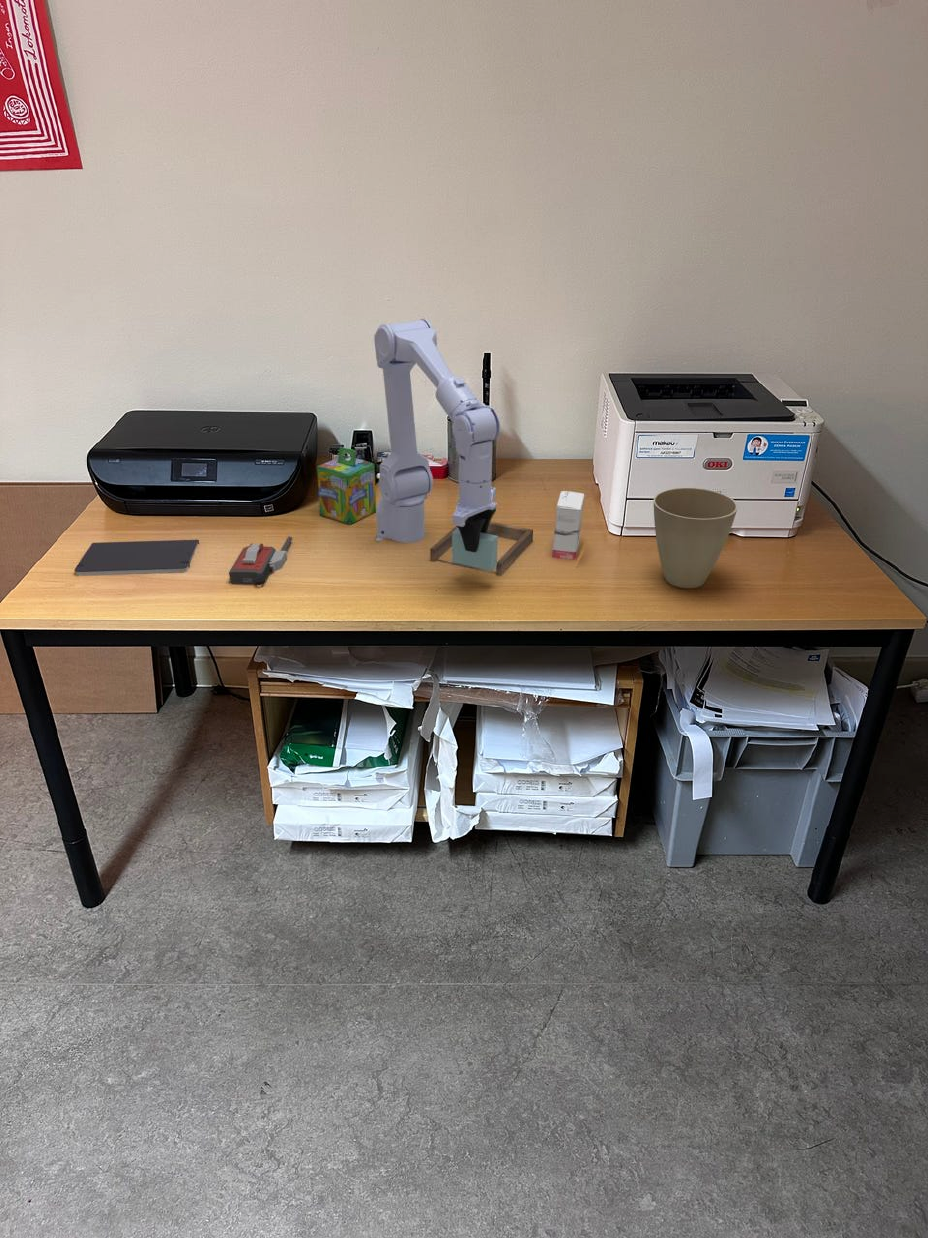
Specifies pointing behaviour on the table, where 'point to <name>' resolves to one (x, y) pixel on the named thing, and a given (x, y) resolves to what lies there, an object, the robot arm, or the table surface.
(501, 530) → the rack
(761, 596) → the table surface
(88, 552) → the notebook
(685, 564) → the plant pot
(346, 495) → the chalk box
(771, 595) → the table surface
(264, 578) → the walkie-talkie
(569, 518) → the ink box
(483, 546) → the teal rectangular block
